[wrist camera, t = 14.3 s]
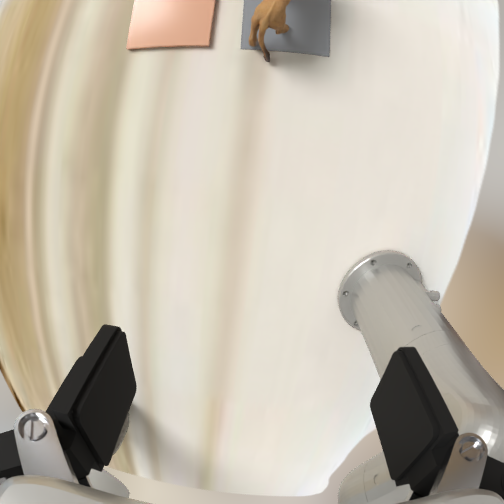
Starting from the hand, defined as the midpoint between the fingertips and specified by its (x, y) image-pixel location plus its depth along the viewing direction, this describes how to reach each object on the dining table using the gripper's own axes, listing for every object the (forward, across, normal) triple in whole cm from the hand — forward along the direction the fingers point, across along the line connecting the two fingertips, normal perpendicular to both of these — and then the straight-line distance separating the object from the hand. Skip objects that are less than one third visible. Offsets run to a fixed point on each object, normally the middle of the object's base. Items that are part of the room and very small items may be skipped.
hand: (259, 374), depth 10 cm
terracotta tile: (+29, +12, -25) cm, 40 cm away
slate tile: (+30, -1, -25) cm, 39 cm away
